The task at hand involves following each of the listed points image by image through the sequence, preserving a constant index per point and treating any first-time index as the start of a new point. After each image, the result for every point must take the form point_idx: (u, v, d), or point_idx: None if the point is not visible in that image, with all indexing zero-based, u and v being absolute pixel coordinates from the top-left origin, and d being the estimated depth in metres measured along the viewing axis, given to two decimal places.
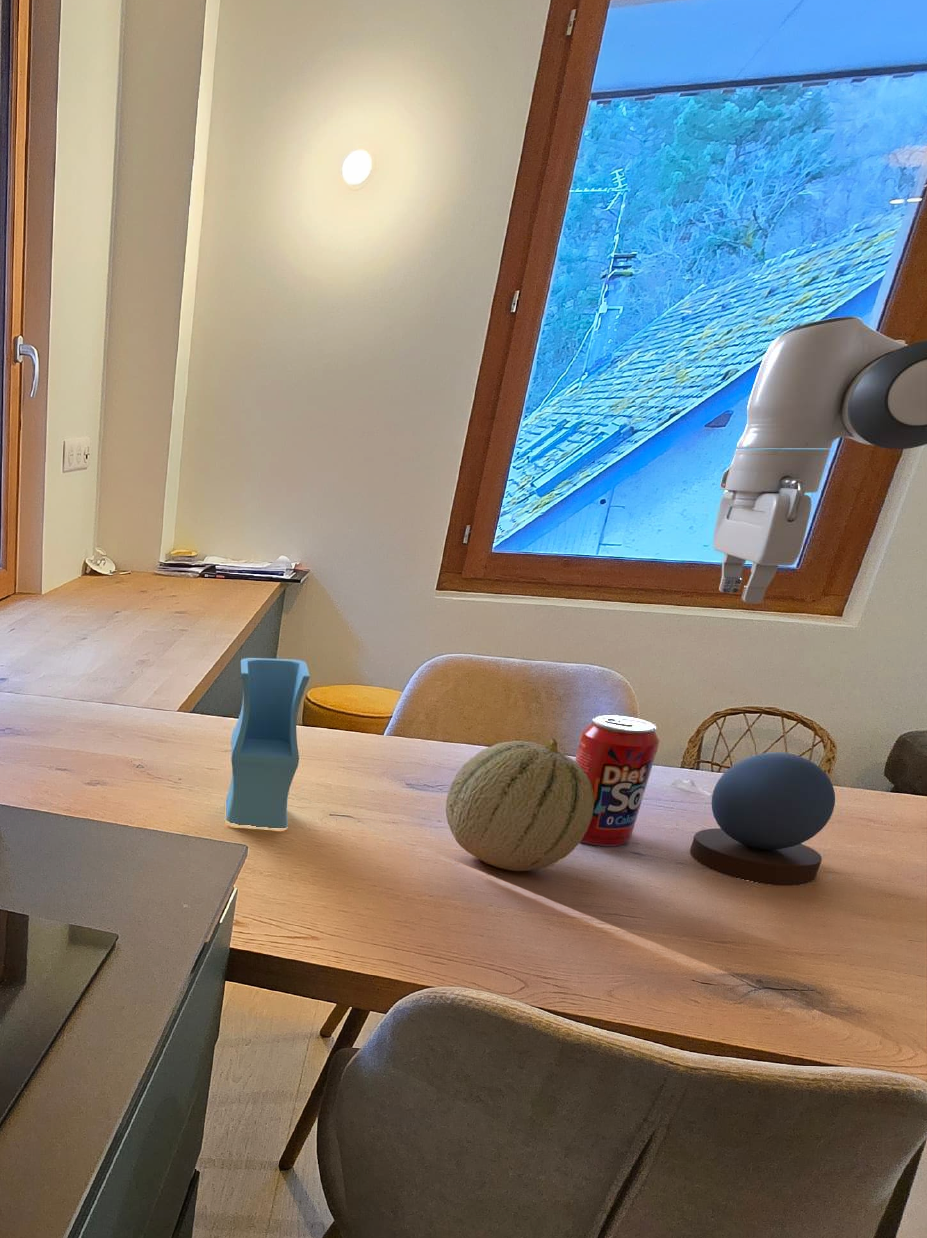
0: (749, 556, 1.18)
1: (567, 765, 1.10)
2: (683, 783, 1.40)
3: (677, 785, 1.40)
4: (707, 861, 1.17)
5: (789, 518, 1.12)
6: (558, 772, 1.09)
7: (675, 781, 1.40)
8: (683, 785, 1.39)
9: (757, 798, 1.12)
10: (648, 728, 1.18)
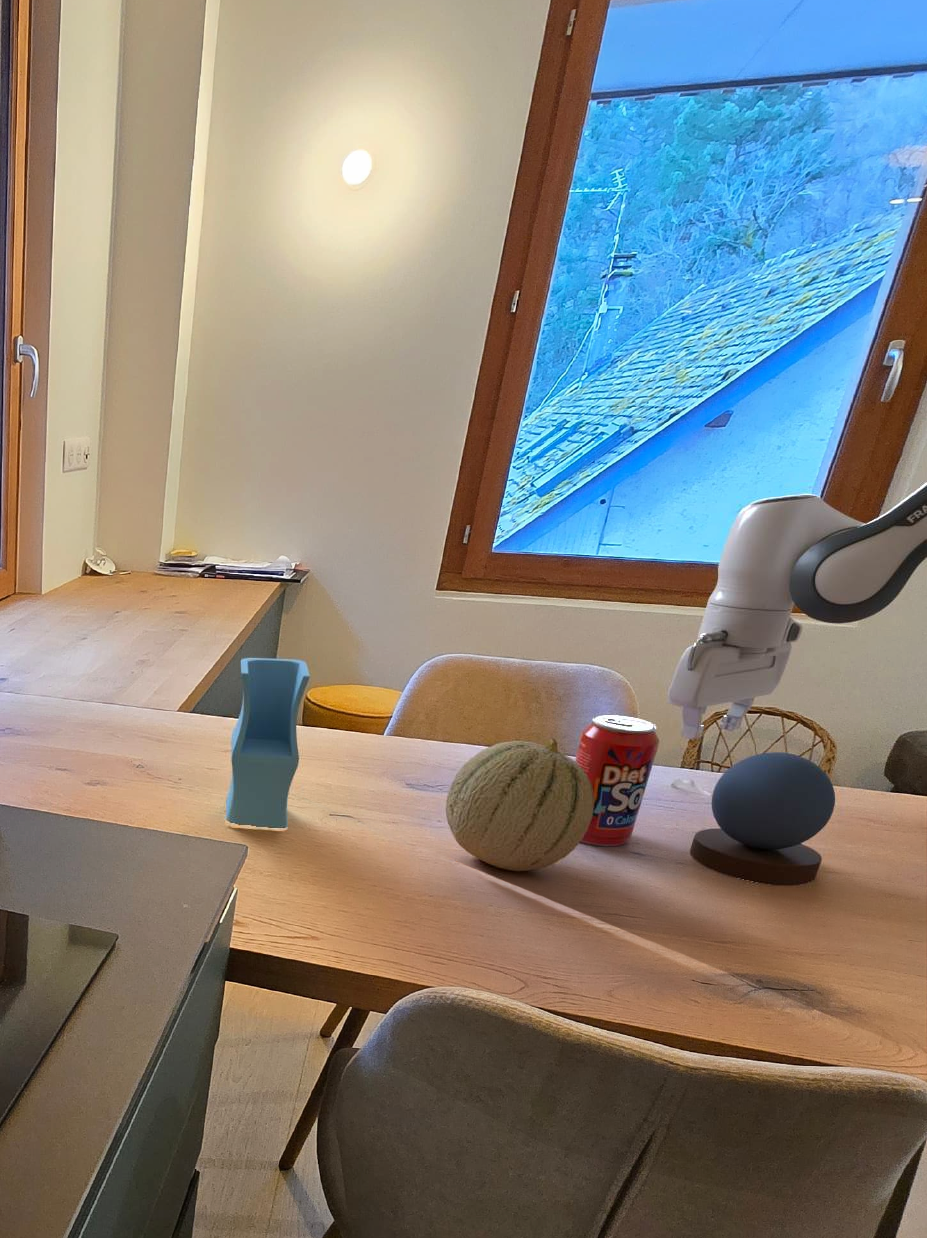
0: None
1: (567, 765, 1.10)
2: (683, 783, 1.40)
3: (677, 785, 1.40)
4: (707, 861, 1.17)
5: (688, 667, 1.28)
6: (558, 772, 1.09)
7: (675, 781, 1.40)
8: (683, 785, 1.39)
9: (757, 798, 1.12)
10: (648, 728, 1.18)
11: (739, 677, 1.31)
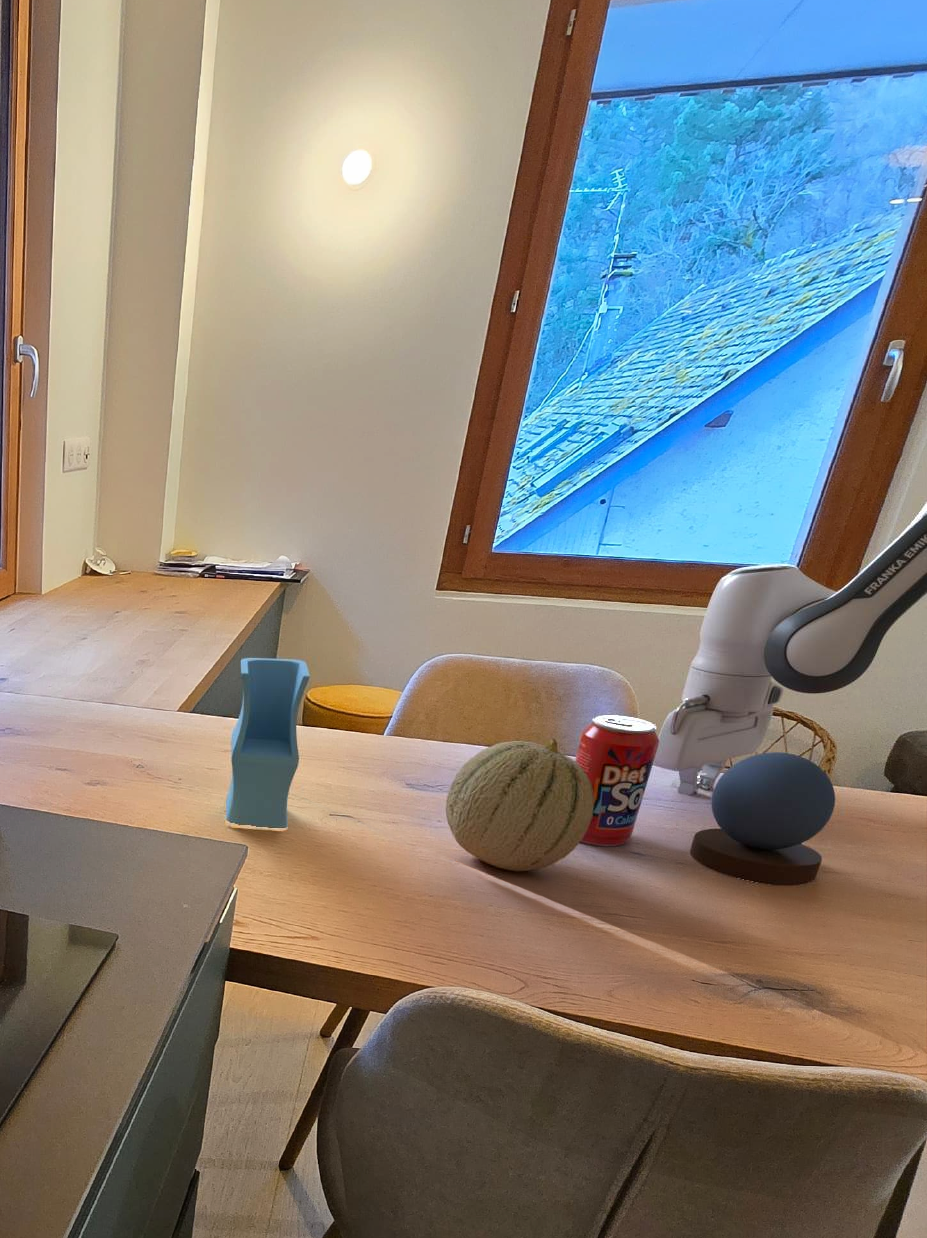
0: None
1: (567, 765, 1.10)
2: None
3: (677, 785, 1.40)
4: (707, 861, 1.17)
5: (671, 731, 1.31)
6: (558, 772, 1.09)
7: (675, 781, 1.40)
8: None
9: (757, 798, 1.12)
10: (648, 728, 1.18)
11: (721, 739, 1.34)
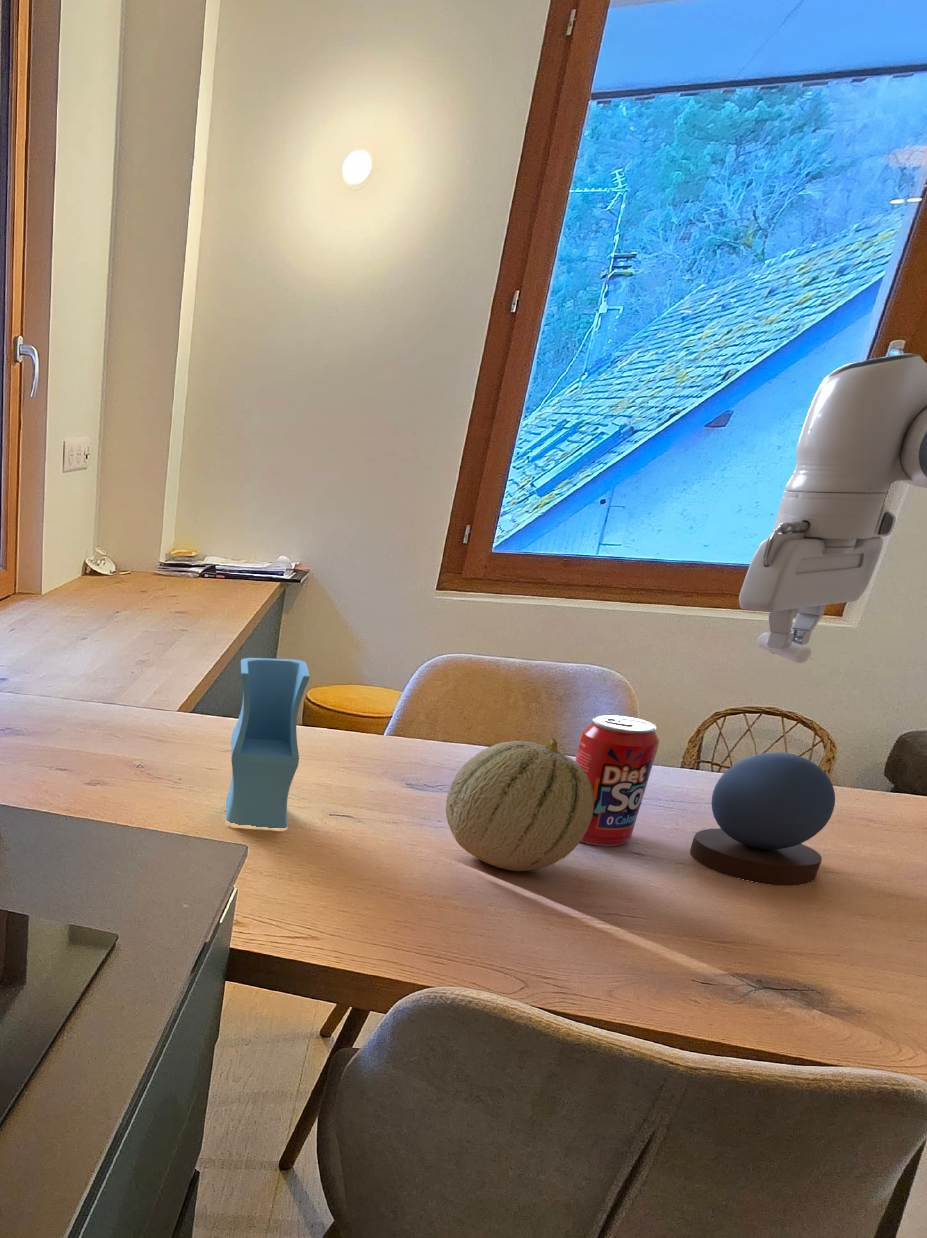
0: None
1: (567, 765, 1.10)
2: None
3: (765, 639, 1.19)
4: (707, 861, 1.17)
5: (764, 563, 1.10)
6: (558, 772, 1.09)
7: (762, 635, 1.19)
8: None
9: (757, 798, 1.12)
10: (648, 728, 1.18)
11: (822, 576, 1.13)
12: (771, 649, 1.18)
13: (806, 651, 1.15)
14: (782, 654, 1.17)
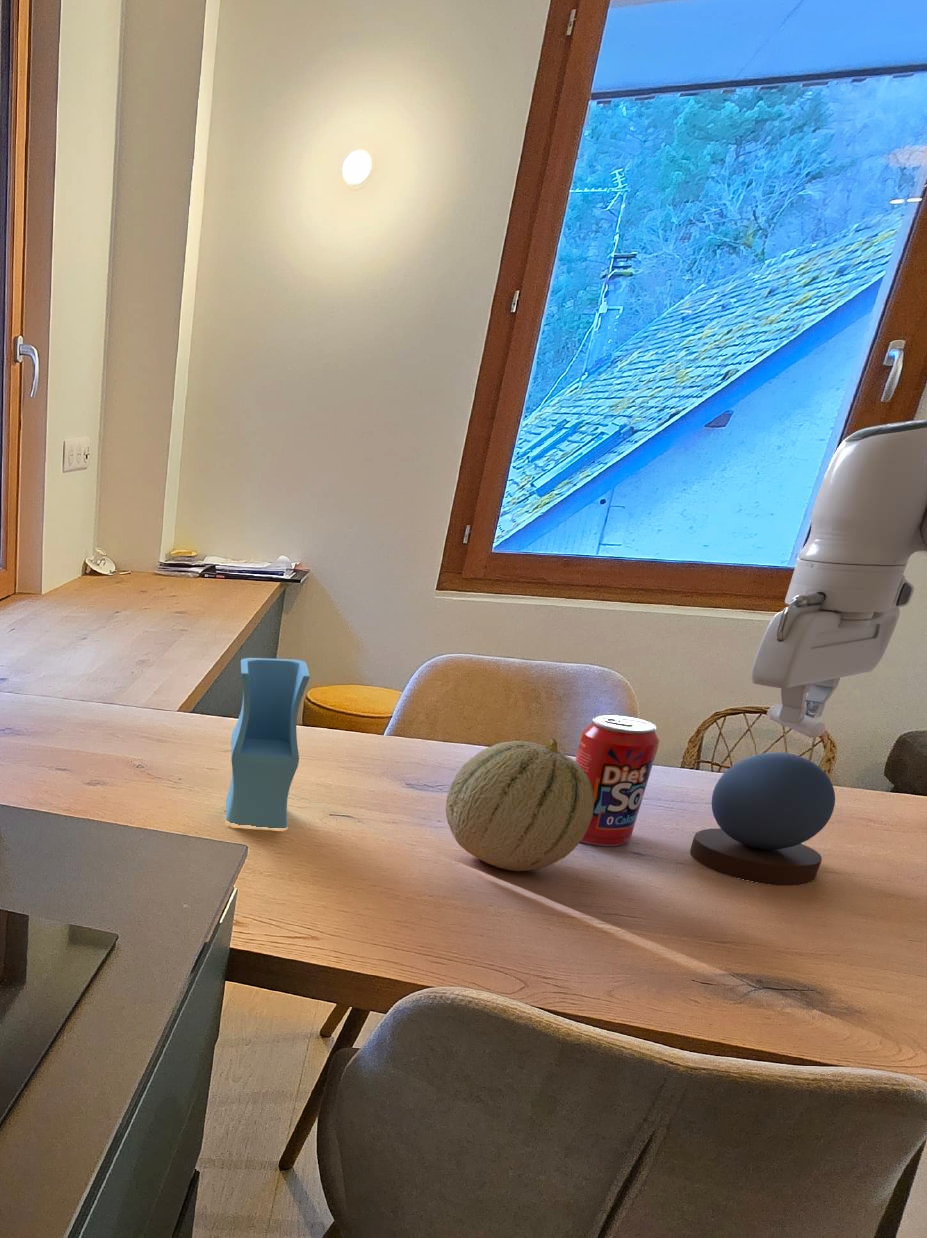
0: None
1: (567, 765, 1.10)
2: None
3: (776, 711, 1.13)
4: (707, 861, 1.17)
5: (777, 637, 1.04)
6: (558, 772, 1.09)
7: (773, 707, 1.13)
8: None
9: (757, 798, 1.12)
10: (648, 728, 1.18)
11: (838, 649, 1.07)
12: (782, 722, 1.13)
13: (820, 726, 1.10)
14: (794, 728, 1.12)
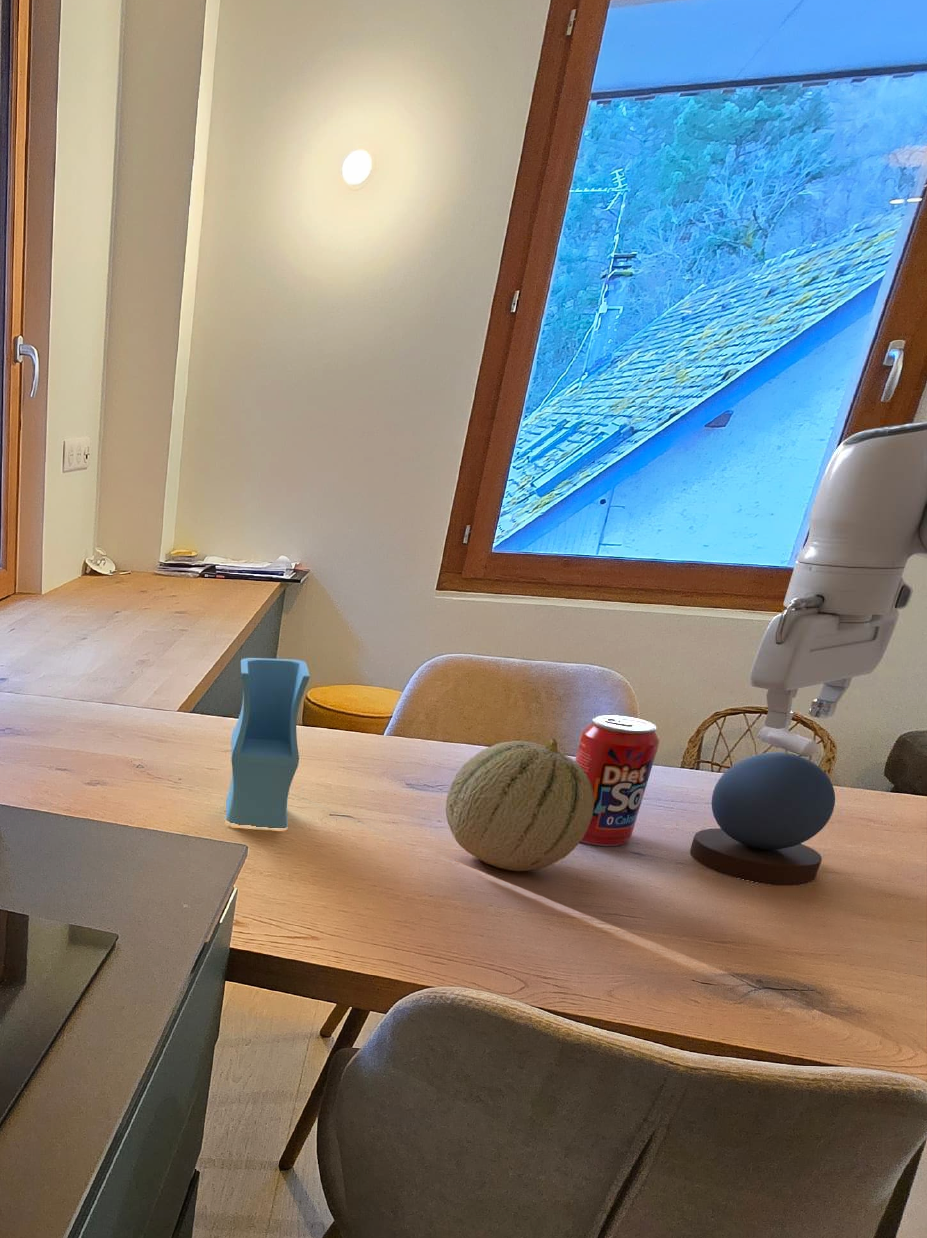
0: None
1: (567, 765, 1.10)
2: (774, 730, 1.14)
3: (767, 733, 1.14)
4: (707, 861, 1.17)
5: (776, 640, 1.04)
6: (558, 772, 1.09)
7: (763, 729, 1.15)
8: (774, 732, 1.13)
9: (757, 798, 1.12)
10: (648, 728, 1.18)
11: (837, 652, 1.07)
12: (774, 743, 1.14)
13: (812, 745, 1.11)
14: (787, 748, 1.13)
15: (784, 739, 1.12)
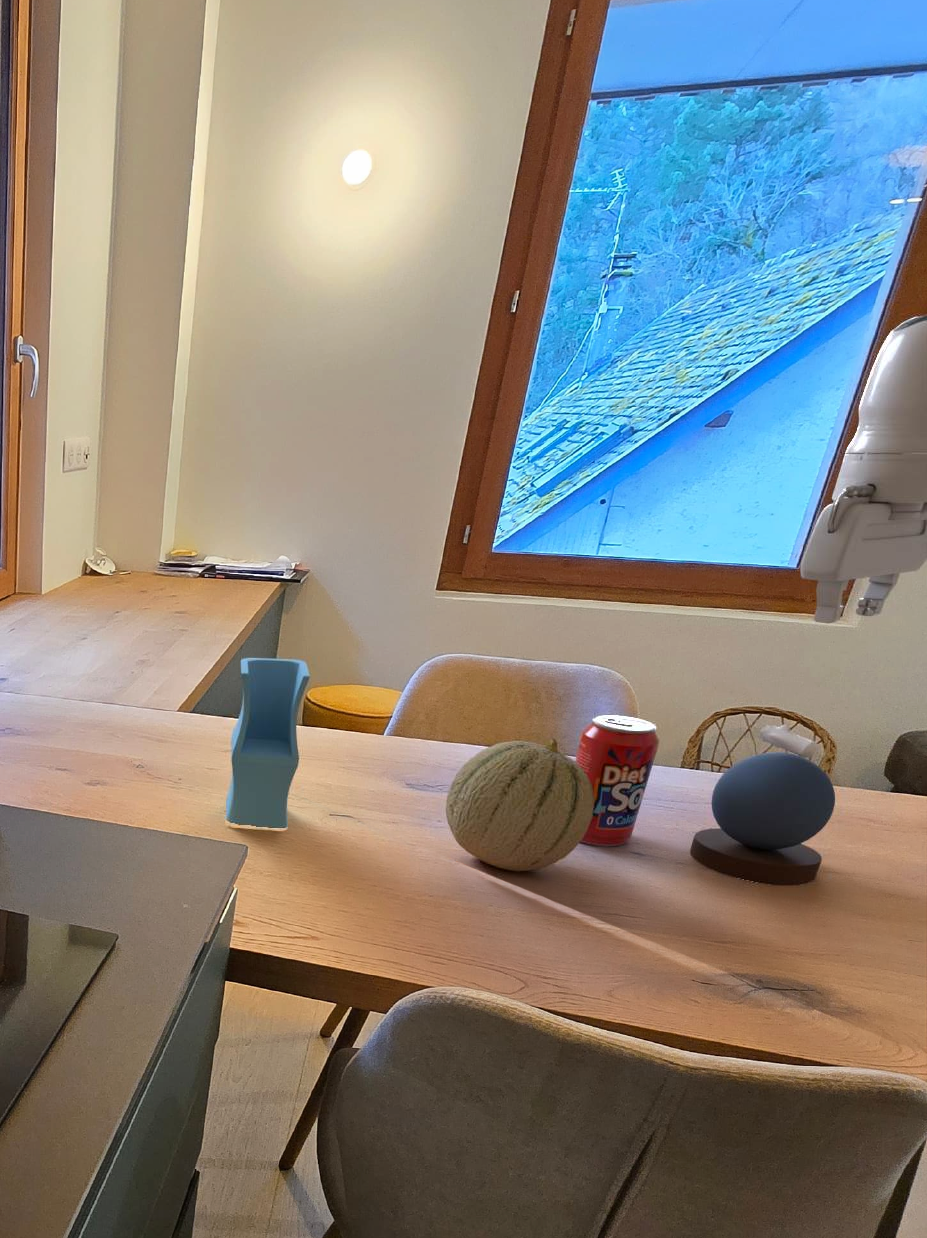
0: None
1: (567, 765, 1.10)
2: (776, 730, 1.14)
3: (768, 732, 1.14)
4: (707, 861, 1.17)
5: (828, 529, 1.04)
6: (558, 772, 1.09)
7: (765, 728, 1.14)
8: (776, 732, 1.13)
9: (757, 798, 1.12)
10: (648, 728, 1.18)
11: (887, 543, 1.07)
12: (775, 743, 1.14)
13: (812, 746, 1.11)
14: (787, 748, 1.13)
15: (785, 739, 1.12)
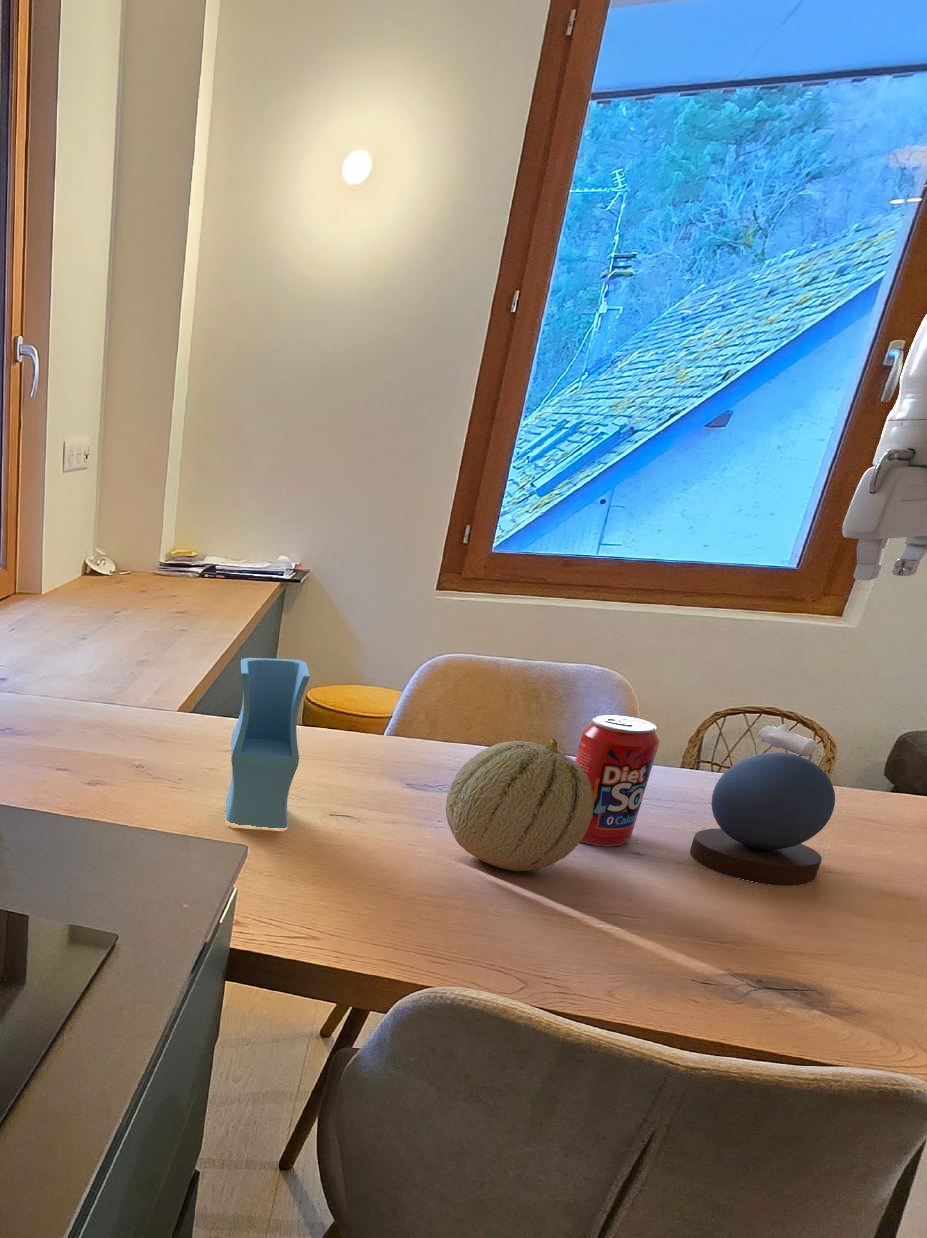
0: None
1: (567, 765, 1.10)
2: (774, 730, 1.14)
3: (767, 733, 1.14)
4: (707, 861, 1.17)
5: (870, 490, 1.11)
6: (558, 772, 1.09)
7: (763, 729, 1.15)
8: (775, 732, 1.14)
9: (757, 798, 1.12)
10: (648, 728, 1.18)
11: (924, 505, 1.14)
12: (775, 743, 1.14)
13: (812, 744, 1.11)
14: (787, 748, 1.13)
15: (784, 739, 1.13)
